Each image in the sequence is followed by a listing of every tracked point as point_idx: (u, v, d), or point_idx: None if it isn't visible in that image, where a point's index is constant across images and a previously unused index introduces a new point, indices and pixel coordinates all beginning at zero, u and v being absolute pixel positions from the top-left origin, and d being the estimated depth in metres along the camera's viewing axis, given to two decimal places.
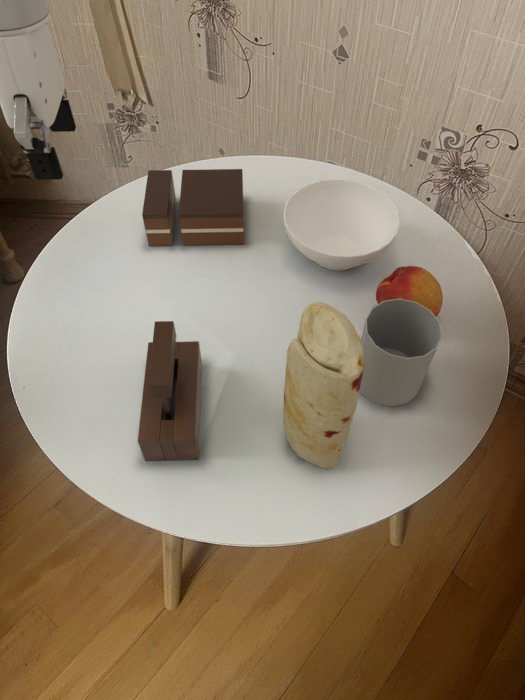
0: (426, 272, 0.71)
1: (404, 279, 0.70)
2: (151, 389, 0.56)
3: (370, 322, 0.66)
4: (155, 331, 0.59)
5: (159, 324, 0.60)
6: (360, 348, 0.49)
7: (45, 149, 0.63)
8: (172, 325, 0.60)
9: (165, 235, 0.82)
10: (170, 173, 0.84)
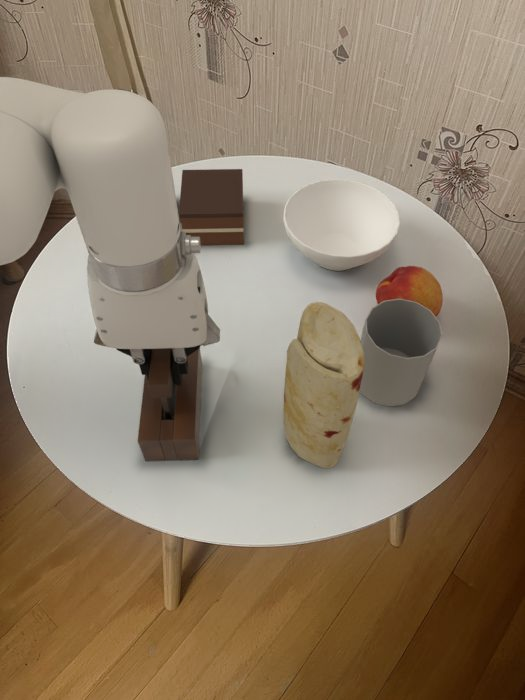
0: (426, 272, 0.71)
1: (404, 279, 0.70)
2: (151, 389, 0.56)
3: (370, 322, 0.66)
4: None
5: None
6: (360, 348, 0.49)
7: None
8: None
9: None
10: None
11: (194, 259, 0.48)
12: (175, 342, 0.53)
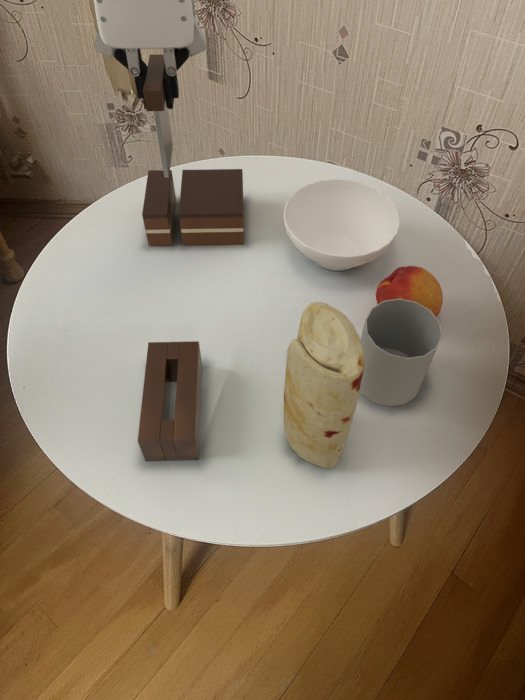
0: (426, 272, 0.71)
1: (404, 279, 0.70)
2: (146, 97, 0.64)
3: (370, 322, 0.66)
4: (149, 60, 0.67)
5: (153, 56, 0.67)
6: (360, 348, 0.49)
7: None
8: None
9: (165, 235, 0.82)
10: (170, 173, 0.84)
11: None
12: (166, 37, 0.60)
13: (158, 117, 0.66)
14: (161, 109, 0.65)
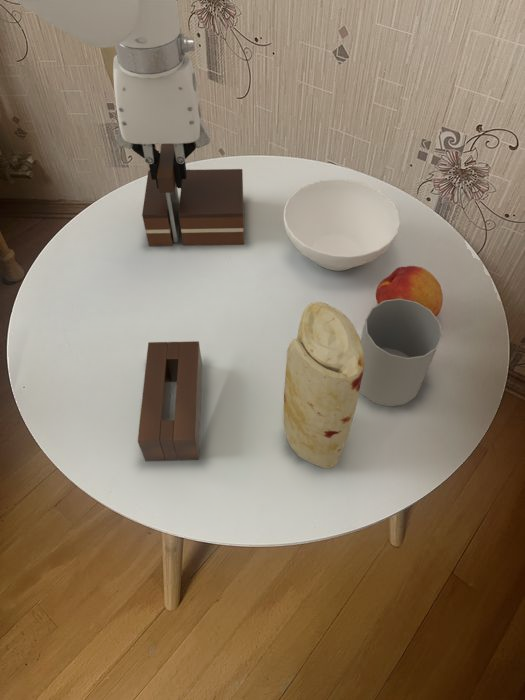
0: (426, 272, 0.71)
1: (404, 279, 0.70)
2: (159, 182, 0.75)
3: (370, 322, 0.66)
4: (161, 147, 0.78)
5: None
6: (360, 348, 0.49)
7: None
8: None
9: (165, 235, 0.82)
10: None
11: (190, 61, 0.66)
12: (176, 136, 0.71)
13: (169, 196, 0.77)
14: (172, 191, 0.76)
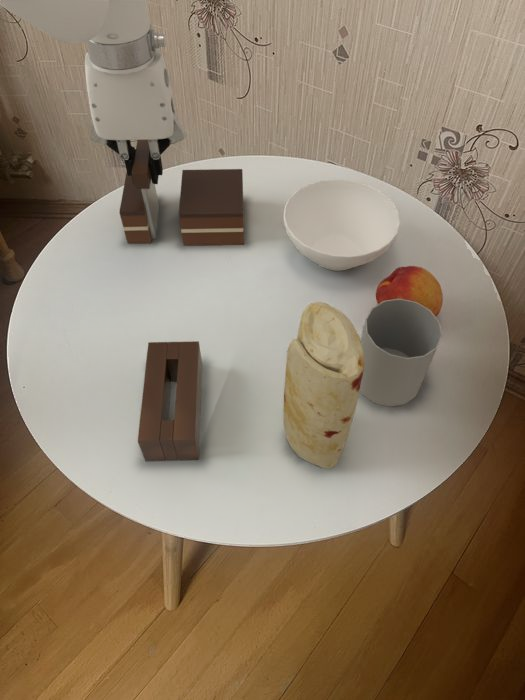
0: (426, 272, 0.71)
1: (404, 279, 0.70)
2: (134, 179, 0.75)
3: (370, 322, 0.66)
4: (137, 143, 0.79)
5: None
6: (360, 348, 0.49)
7: None
8: None
9: (143, 232, 0.82)
10: None
11: (162, 57, 0.67)
12: (150, 132, 0.72)
13: (145, 193, 0.78)
14: (147, 187, 0.77)
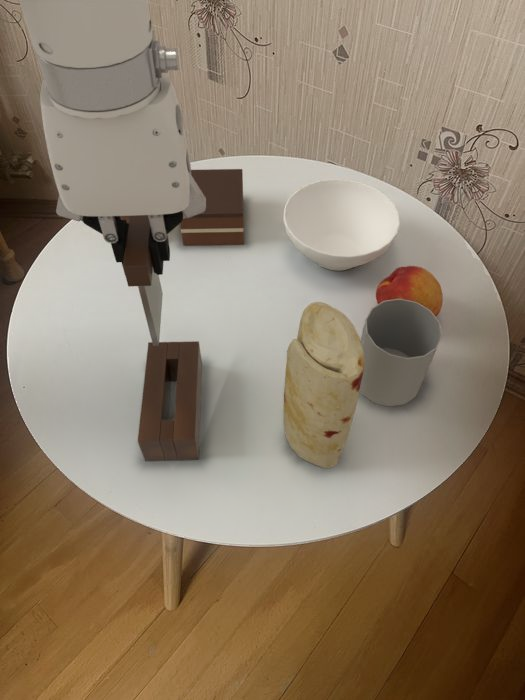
0: (426, 272, 0.71)
1: (404, 279, 0.70)
2: (127, 273, 0.48)
3: (370, 322, 0.66)
4: None
5: None
6: (360, 348, 0.49)
7: None
8: None
9: None
10: None
11: (172, 87, 0.39)
12: (152, 205, 0.44)
13: (144, 290, 0.50)
14: (147, 284, 0.49)
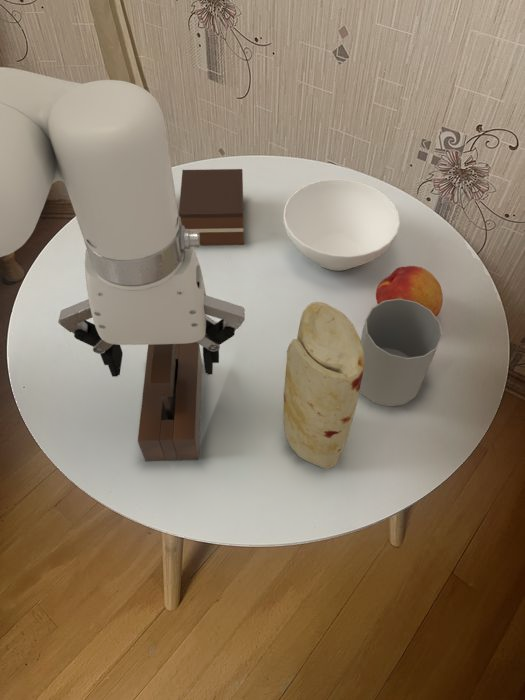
0: (426, 272, 0.71)
1: (404, 279, 0.70)
2: (152, 388, 0.56)
3: (370, 322, 0.66)
4: None
5: None
6: (360, 348, 0.49)
7: None
8: None
9: None
10: None
11: (193, 253, 0.48)
12: (174, 338, 0.52)
13: (166, 398, 0.59)
14: (170, 395, 0.57)
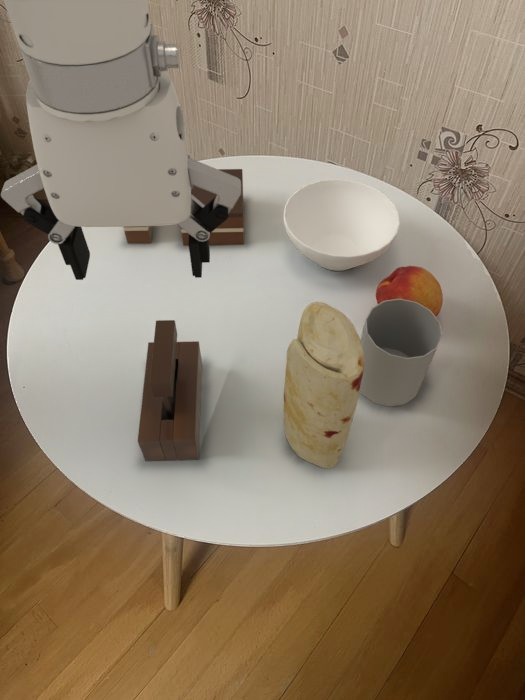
0: (426, 272, 0.71)
1: (404, 279, 0.70)
2: (152, 388, 0.56)
3: (370, 322, 0.66)
4: (156, 330, 0.59)
5: (160, 323, 0.60)
6: (360, 348, 0.49)
7: (49, 235, 0.43)
8: (173, 324, 0.60)
9: (143, 232, 0.82)
10: None
11: (172, 86, 0.36)
12: (150, 215, 0.41)
13: (166, 398, 0.59)
14: (170, 395, 0.57)
